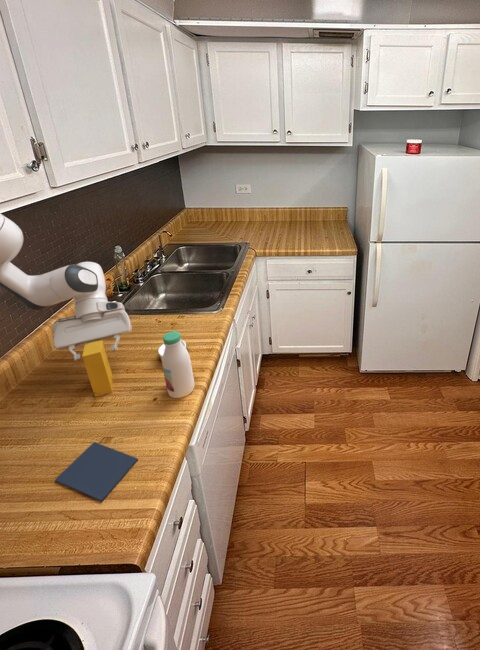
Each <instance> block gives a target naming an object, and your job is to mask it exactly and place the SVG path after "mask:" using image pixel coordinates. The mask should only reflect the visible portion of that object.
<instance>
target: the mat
mask: <svg viewBox="0 0 480 650" xmlns="http://www.w3.org/2000/svg"><path fill="white" fill-rule="evenodd" d="M137 462H139V459H138V458H137V457H135V456H133V455H130V454H127V453H125V452H122V451H119V450H116V449H114V448H111V447H109V446H106V445H103V444H101V443H99V442H95V441H93V442H92V443H91V444H90V445H89V446H88V447H87V448H86V449H85V450H84V451H83V452H82V453H81V454H80V455H79V456H78V457H77V458H76V459H74V461H73V462H71V464H69V465H68V466H67V467H66V469H64V470H63V471H62V472H61V473H60V474H59V475H58V476H57V477H56V478H55V479H54V481H55V483H58V484H60V485H62V486H65V487H67V488H69V489H72V490H74V491H76V492H78V493H80V494H82V495H84V496H87V497H89V498H91V499H94V500H96V501H97V502H100V503H103V502H104V501H105V500H106V498H107V497H108V496H109V495H110V493H111V492H112V491H113V490H114V489H115V488H116V487H117V486H118V484H119V483H120V482H121V481H122V479H123V478H124V477H125V476H126V475H127V474H128V473H129V472H130V470H131V469H132V468H133V467H134V466H135V464H136V463H137Z"/></svg>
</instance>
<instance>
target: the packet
mask: <svg viewBox="0 0 480 650" xmlns="http://www.w3.org/2000/svg"><path fill="white" fill-rule="evenodd" d="M81 358H82V361H83V364H84V368H85V370H86V373H87V376H88V381H89V383H90V387H91V389H92V392H93V393H94V394H93V396H94V398H96V397H97V398H98V397H100V396H103V395H107V394H110V393H113V387H114V378H113V373H112V368H111V365H110V362H109V359H108V355H107V352H106V347H105V345H104V339H103V340H99V341H95V342H91V343H87V344H84V345H83V350H82V354H81Z"/></svg>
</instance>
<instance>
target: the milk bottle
mask: <svg viewBox="0 0 480 650" xmlns="http://www.w3.org/2000/svg"><path fill="white" fill-rule="evenodd" d="M181 340H182V337H181V332H179V331H177V330H171V331H168V332H167V333H165V334H164V335H163V337H162V341H163V344H164V345H165V351H164V354H163V357H162V360H161V365H162V371H163V375H164V381H165V386H166V390H167V394H168V395H169V396H170V397H171V398H173V399H182V398H185V397H188V395H190V394H191V393H192V392H193V391H194V389H195V378H194V372H193V367H192V361H191V356H190V353H189V351H188V349H187V347H186V348H185V347H184V346H183V345H182V343H181Z"/></svg>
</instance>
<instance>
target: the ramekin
mask: <svg viewBox="0 0 480 650" xmlns="http://www.w3.org/2000/svg"><path fill="white" fill-rule="evenodd" d="M181 343H182V345H183V346H184V347H185V348H186V349H187V343H186V341H185V340H183V339H181ZM164 351H165V345H164V343H163V344H161V345H160V346H159V347H158V349H157V353H158V355H159V357H160V360H161V361H162V357H163V354H164Z"/></svg>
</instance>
